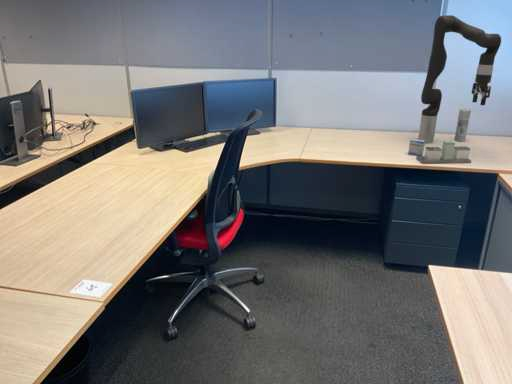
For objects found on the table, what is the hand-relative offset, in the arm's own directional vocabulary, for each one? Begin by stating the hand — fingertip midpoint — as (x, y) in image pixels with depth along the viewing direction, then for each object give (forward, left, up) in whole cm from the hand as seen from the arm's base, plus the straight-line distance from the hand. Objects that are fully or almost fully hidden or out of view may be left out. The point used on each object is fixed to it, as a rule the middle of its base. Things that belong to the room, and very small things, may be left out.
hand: (478, 103), depth 235 cm
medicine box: (-5, -29, -30) cm, 42 cm away
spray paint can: (-33, +11, -30) cm, 46 cm away
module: (+8, -17, -29) cm, 34 cm away
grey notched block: (+8, -18, -30) cm, 36 cm away
